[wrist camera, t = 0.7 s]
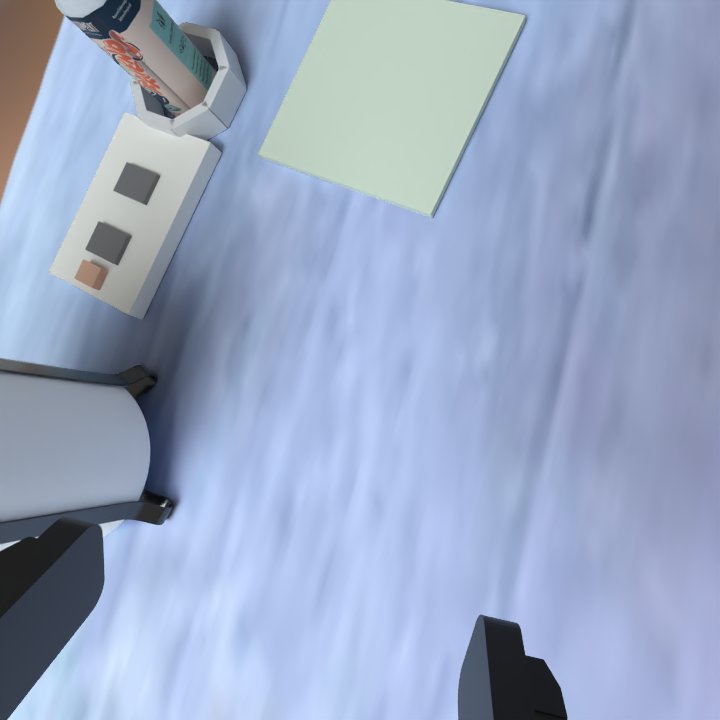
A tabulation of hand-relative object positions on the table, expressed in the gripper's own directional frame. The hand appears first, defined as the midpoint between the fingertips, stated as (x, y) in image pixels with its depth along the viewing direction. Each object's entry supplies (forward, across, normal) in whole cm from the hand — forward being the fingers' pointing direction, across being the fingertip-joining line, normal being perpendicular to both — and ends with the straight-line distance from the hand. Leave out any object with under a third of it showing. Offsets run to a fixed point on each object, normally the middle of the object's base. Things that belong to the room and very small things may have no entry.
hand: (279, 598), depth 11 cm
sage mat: (+32, +3, -13) cm, 34 cm away
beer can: (+35, +18, -11) cm, 41 cm away
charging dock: (+33, +20, -5) cm, 38 cm away
